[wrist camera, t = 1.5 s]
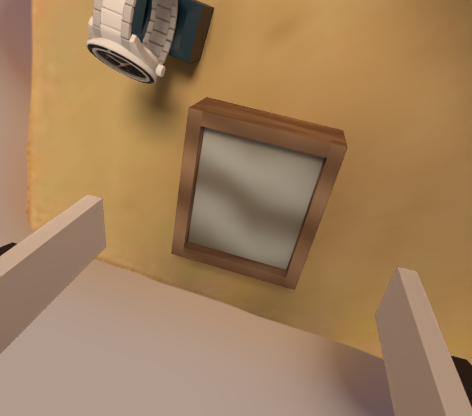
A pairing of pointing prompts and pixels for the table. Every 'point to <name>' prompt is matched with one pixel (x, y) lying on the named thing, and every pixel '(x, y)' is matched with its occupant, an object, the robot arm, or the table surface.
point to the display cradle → (253, 189)
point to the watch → (147, 34)
